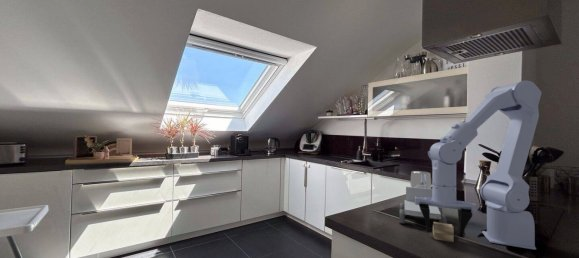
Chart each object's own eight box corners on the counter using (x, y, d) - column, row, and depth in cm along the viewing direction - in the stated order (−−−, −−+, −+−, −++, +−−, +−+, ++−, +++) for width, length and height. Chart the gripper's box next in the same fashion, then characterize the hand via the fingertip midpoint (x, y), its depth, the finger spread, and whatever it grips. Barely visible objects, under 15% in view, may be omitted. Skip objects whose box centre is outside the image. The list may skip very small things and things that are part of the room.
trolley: (440, 218, 85) (440, 189, 85) (446, 232, 73) (447, 198, 73) (399, 213, 91) (400, 185, 91) (399, 224, 79) (399, 193, 79)
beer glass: (415, 207, 98) (415, 170, 98) (434, 212, 93) (434, 172, 93) (407, 211, 94) (407, 171, 94) (426, 215, 88) (426, 174, 89)
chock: (450, 236, 71) (450, 222, 71) (453, 242, 66) (453, 228, 66) (432, 233, 73) (432, 219, 73) (434, 239, 68) (434, 225, 68)
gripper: (471, 185, 69) (471, 233, 69) (414, 180, 76) (414, 224, 75) (478, 189, 63) (478, 242, 63) (415, 184, 69) (415, 232, 69)
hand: (443, 233), depth 69 cm, fingers open, 7 cm apart
